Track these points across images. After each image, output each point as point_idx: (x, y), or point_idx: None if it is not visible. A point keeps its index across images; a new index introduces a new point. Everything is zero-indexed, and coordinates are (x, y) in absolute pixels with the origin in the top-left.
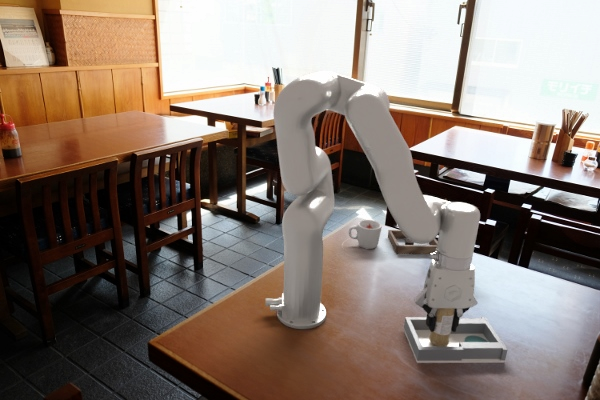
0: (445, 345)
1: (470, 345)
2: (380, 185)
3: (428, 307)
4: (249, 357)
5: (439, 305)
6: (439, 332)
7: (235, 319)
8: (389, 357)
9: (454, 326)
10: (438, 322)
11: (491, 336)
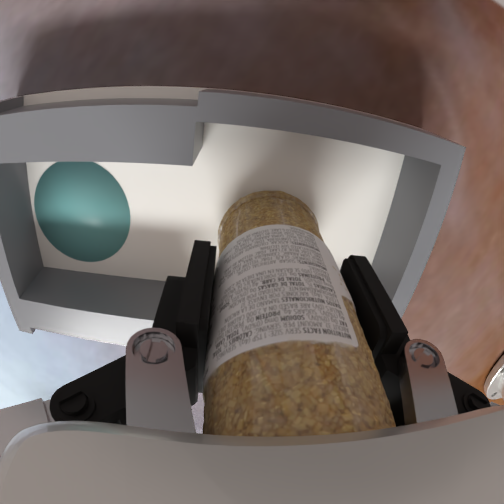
0: (256, 192)
1: (132, 131)
2: None
3: (459, 411)
4: None
5: (498, 445)
6: (318, 242)
7: None
8: (488, 185)
9: (207, 266)
10: (351, 300)
11: (10, 223)
